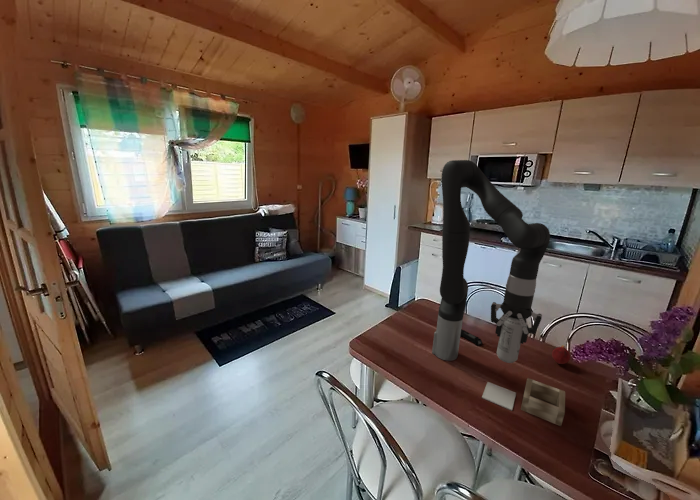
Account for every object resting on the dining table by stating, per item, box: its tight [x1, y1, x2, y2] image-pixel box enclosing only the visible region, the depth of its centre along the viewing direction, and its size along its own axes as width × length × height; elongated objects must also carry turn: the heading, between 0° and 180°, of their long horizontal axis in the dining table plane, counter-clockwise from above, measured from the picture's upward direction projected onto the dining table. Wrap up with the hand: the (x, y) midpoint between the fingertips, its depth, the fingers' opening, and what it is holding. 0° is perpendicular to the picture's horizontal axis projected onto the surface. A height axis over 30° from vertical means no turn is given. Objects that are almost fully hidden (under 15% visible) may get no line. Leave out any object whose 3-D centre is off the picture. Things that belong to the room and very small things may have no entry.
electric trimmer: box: [460, 328, 483, 347], centre depth 135 cm, size 4×16×3 cm, turn 34°
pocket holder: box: [520, 377, 566, 427], centre depth 96 cm, size 11×11×5 cm
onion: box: [551, 344, 571, 365], centre depth 117 cm, size 6×6×8 cm
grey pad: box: [481, 381, 517, 411], centre depth 101 cm, size 9×9×1 cm
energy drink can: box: [496, 317, 523, 364], centre depth 95 cm, size 6×6×15 cm
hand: (510, 338), depth 95 cm, fingers closed on energy drink can, 6 cm apart
